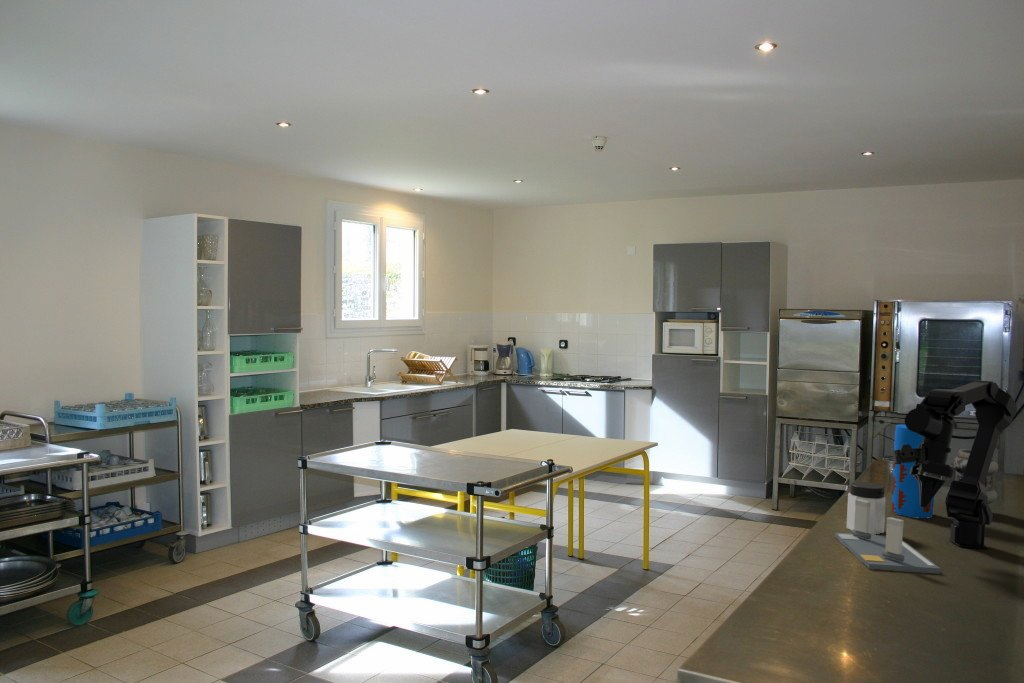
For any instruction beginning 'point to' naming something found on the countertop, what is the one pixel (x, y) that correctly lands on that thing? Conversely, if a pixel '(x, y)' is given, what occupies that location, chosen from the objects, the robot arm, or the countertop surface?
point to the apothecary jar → (960, 466)
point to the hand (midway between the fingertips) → (922, 507)
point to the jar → (877, 506)
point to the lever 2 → (894, 539)
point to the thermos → (907, 479)
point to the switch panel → (873, 558)
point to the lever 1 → (862, 519)
